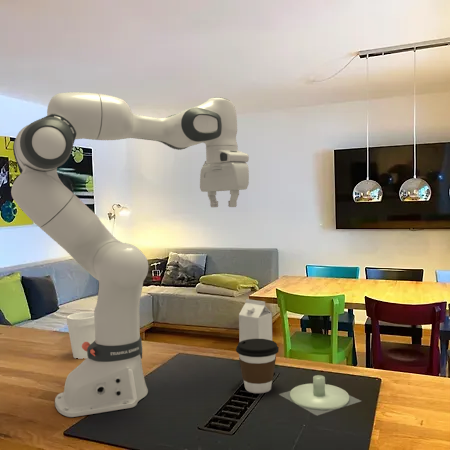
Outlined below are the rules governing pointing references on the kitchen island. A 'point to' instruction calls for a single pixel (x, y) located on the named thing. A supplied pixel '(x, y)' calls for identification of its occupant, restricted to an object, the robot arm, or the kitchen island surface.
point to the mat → (319, 412)
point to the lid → (319, 395)
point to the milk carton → (255, 321)
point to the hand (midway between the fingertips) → (223, 207)
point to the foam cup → (81, 332)
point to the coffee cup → (257, 363)
